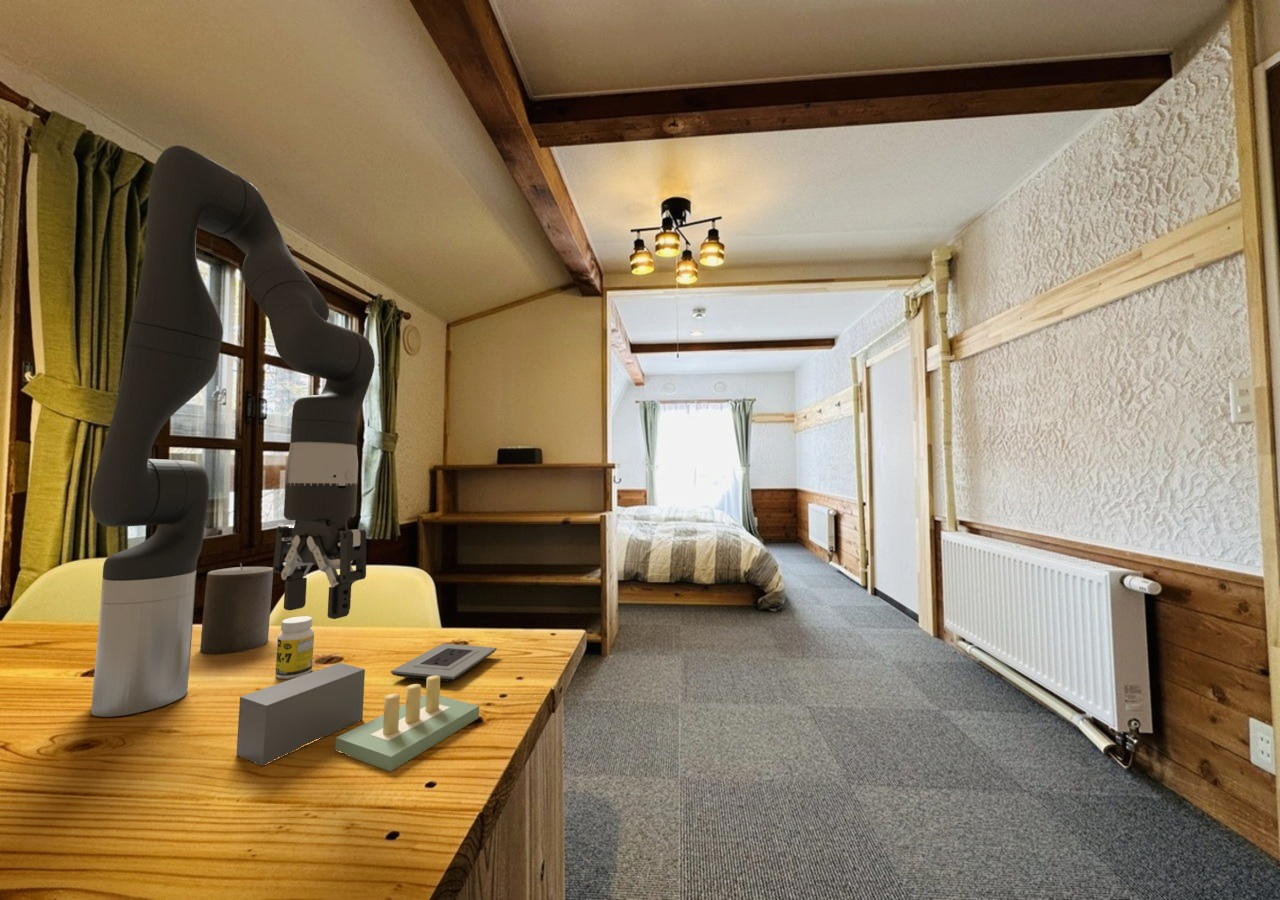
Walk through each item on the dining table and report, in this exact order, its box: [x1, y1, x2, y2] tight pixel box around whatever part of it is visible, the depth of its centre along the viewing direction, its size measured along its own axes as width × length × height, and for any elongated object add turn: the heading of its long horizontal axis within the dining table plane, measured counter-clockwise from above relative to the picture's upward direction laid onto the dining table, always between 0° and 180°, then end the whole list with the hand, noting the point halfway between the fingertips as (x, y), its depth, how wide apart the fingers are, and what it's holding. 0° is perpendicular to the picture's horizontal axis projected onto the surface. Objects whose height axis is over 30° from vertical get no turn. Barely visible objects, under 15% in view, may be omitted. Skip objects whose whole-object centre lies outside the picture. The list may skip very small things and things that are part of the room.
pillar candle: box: [199, 562, 274, 655], centre depth 90 cm, size 10×10×15 cm
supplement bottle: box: [275, 615, 315, 680], centre depth 77 cm, size 5×5×8 cm
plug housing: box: [235, 662, 366, 767], centre depth 58 cm, size 5×11×6 cm, turn 156°
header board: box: [334, 675, 480, 772], centre depth 59 cm, size 9×13×6 cm
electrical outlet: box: [390, 642, 497, 682], centre depth 79 cm, size 13×10×2 cm
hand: (315, 613), depth 59 cm, fingers open, 8 cm apart
